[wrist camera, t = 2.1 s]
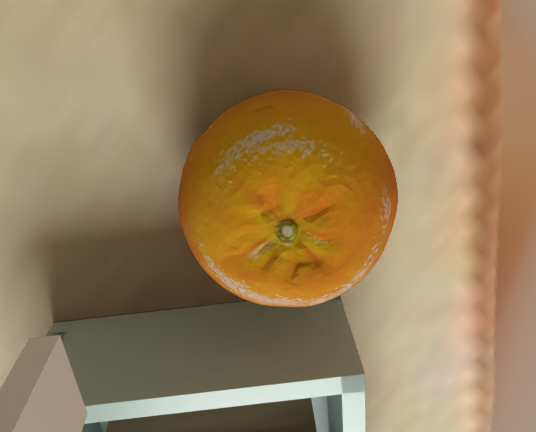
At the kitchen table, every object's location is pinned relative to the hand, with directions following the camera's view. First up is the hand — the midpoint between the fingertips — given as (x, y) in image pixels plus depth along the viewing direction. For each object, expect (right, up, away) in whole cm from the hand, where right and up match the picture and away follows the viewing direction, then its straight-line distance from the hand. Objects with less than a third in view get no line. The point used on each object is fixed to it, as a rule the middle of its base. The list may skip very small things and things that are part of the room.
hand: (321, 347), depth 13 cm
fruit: (-1, +6, +10) cm, 12 cm away
